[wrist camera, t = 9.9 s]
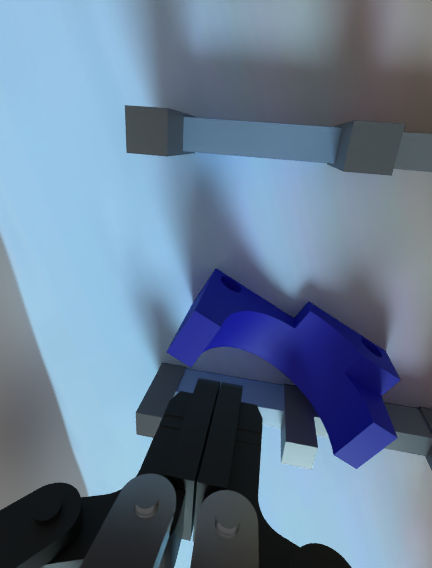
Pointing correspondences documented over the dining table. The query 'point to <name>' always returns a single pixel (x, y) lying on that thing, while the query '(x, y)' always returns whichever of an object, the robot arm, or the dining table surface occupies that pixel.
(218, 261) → the dining table surface
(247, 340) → the blue curved block
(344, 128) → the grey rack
